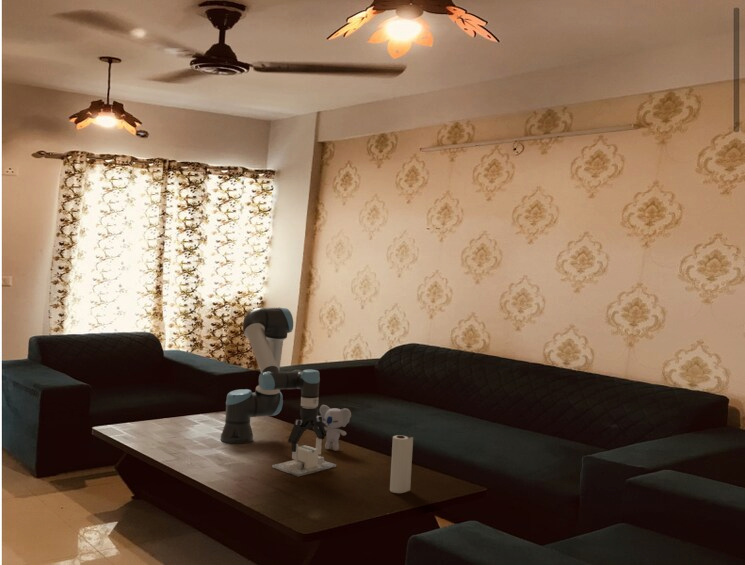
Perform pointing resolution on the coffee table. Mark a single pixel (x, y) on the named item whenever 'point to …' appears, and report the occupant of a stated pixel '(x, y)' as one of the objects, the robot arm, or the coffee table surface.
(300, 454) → the block
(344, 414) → the toy
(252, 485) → the coffee table surface
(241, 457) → the coffee table surface
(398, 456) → the paper towel roll
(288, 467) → the grey flat board
